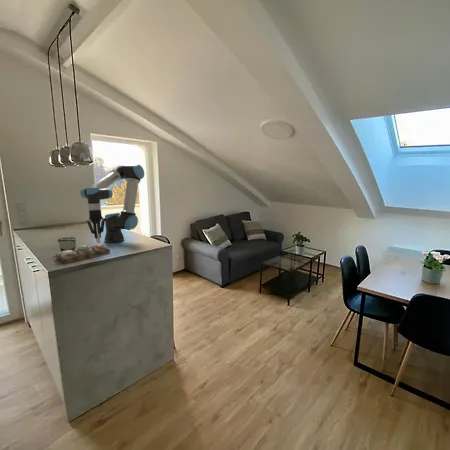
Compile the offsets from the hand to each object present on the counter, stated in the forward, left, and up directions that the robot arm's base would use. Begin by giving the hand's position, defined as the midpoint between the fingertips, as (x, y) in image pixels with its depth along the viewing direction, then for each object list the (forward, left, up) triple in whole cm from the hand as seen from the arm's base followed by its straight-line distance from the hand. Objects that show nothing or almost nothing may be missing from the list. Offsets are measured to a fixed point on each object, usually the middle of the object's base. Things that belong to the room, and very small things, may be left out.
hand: (98, 242), depth 185 cm
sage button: (+10, 0, -3) cm, 11 cm away
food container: (+12, -19, -8) cm, 24 cm away
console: (+10, 0, -7) cm, 13 cm away
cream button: (+20, 0, -4) cm, 21 cm away
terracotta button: (0, 0, -4) cm, 4 cm away
